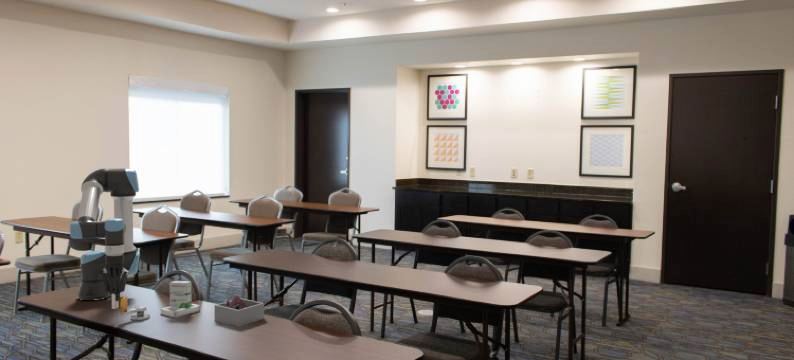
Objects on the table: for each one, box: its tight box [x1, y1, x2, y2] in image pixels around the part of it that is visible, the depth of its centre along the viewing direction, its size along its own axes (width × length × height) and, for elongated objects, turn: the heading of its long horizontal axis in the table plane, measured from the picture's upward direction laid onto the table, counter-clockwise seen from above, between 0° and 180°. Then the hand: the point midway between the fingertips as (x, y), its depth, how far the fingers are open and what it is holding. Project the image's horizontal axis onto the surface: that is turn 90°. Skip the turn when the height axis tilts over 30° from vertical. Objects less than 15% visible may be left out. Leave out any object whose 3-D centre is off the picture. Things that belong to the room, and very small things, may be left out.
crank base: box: [130, 311, 151, 321], centre depth 274 cm, size 8×8×3 cm
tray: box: [160, 303, 201, 319], centre depth 283 cm, size 10×14×2 cm
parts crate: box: [214, 297, 265, 328], centre depth 274 cm, size 15×15×7 cm
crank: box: [119, 295, 148, 316], centre depth 270 cm, size 12×5×8 cm, turn 147°
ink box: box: [169, 280, 193, 309], centre depth 283 cm, size 9×5×12 cm, turn 84°
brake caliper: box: [223, 294, 246, 310], centre depth 275 cm, size 11×11×12 cm
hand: (115, 307), depth 267 cm, fingers closed
